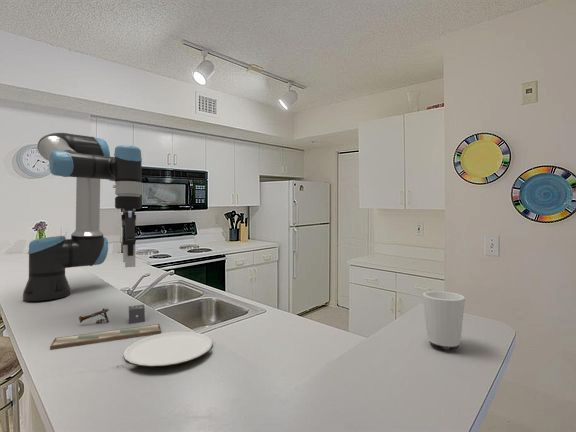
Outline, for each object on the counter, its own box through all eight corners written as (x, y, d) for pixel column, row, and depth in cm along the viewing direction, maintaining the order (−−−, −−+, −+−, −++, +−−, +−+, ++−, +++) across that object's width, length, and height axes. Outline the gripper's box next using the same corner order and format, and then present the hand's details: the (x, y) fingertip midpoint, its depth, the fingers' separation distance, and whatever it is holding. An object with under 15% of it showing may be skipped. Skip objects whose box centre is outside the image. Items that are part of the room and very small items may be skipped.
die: (128, 320, 106) (128, 305, 106) (144, 318, 108) (144, 304, 108) (128, 324, 101) (128, 309, 101) (144, 322, 103) (144, 307, 103)
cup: (461, 339, 88) (461, 292, 88) (468, 354, 79) (468, 301, 79) (421, 335, 92) (421, 289, 92) (424, 349, 82) (424, 298, 82)
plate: (124, 378, 68) (124, 372, 68) (122, 343, 87) (122, 339, 87) (222, 358, 78) (222, 353, 78) (202, 331, 97) (202, 326, 97)
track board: (55, 340, 88) (55, 337, 88) (159, 326, 99) (159, 323, 99) (50, 349, 82) (50, 346, 82) (161, 333, 94) (161, 330, 94)
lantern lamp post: (78, 317, 99) (107, 307, 102) (79, 315, 101) (108, 306, 104) (82, 331, 100) (111, 321, 103) (83, 329, 101) (112, 320, 104)
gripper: (114, 198, 112) (114, 260, 112) (115, 192, 90) (116, 270, 90) (138, 198, 116) (138, 259, 115) (145, 193, 94) (146, 268, 93)
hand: (128, 264), depth 103 cm, fingers open, 13 cm apart
